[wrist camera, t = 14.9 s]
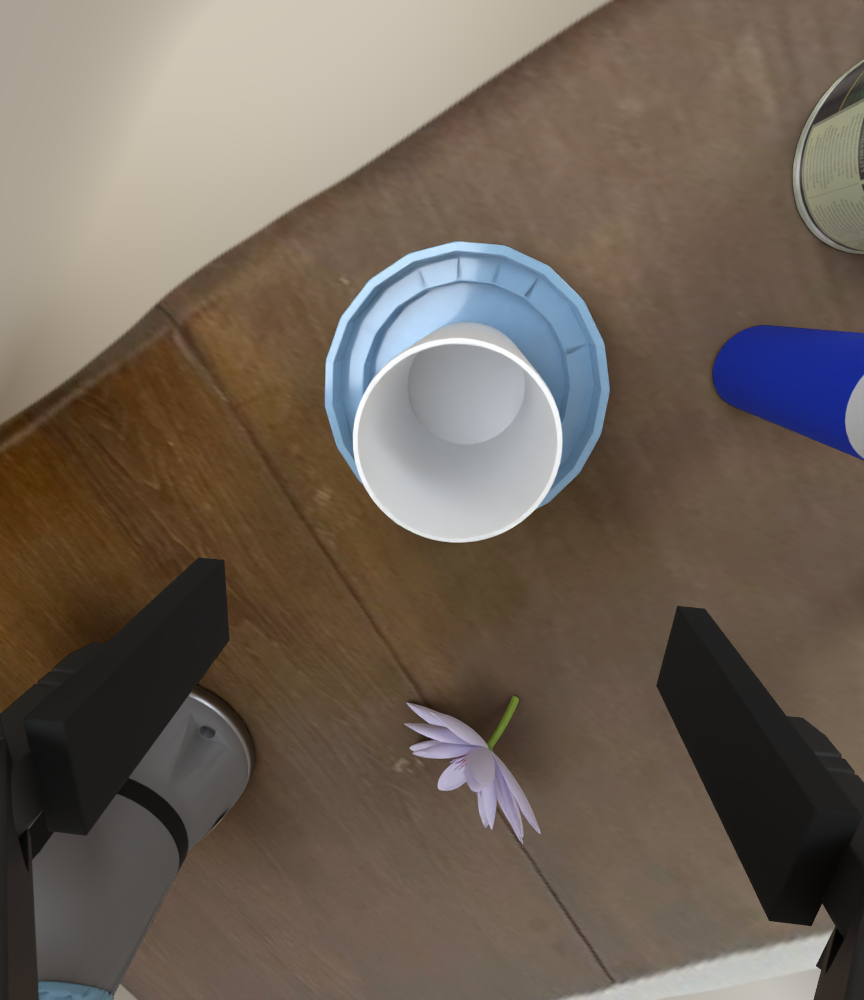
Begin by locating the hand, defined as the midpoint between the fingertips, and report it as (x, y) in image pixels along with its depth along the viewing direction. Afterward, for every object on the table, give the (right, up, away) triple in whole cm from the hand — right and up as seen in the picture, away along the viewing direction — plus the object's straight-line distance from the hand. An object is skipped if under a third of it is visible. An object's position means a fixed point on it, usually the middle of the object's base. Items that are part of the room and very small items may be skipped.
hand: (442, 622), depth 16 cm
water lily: (+2, -15, +31) cm, 34 cm away
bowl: (+2, +11, +21) cm, 24 cm away
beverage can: (+20, +12, +19) cm, 30 cm away
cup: (+2, +11, +20) cm, 23 cm away
